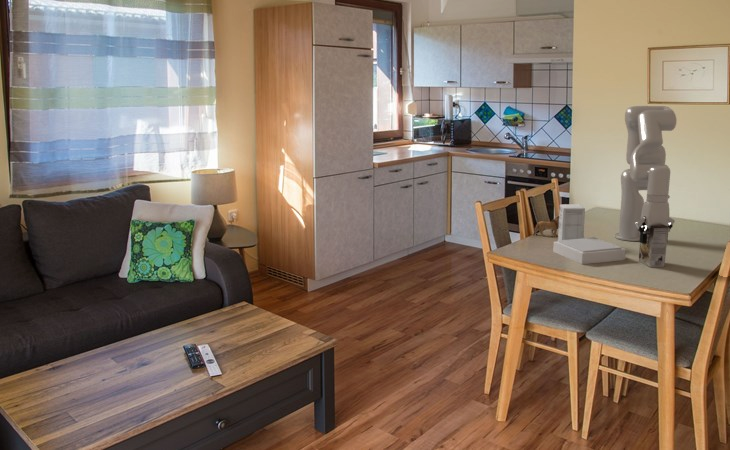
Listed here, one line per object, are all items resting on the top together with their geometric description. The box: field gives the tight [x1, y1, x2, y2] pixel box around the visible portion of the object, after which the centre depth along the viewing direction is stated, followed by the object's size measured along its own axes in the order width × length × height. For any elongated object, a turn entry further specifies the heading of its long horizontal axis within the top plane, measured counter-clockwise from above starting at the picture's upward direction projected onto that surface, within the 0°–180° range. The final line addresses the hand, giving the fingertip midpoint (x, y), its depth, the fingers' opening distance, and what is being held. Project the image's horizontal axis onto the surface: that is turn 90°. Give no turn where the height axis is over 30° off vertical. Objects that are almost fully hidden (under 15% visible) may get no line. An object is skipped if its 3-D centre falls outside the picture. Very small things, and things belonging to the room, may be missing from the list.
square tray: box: [552, 236, 626, 265], centre depth 271 cm, size 20×20×5 cm
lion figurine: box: [532, 215, 559, 237], centre depth 307 cm, size 15×5×9 cm, turn 103°
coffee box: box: [638, 225, 669, 268], centre depth 258 cm, size 9×6×16 cm
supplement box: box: [557, 203, 586, 241], centre depth 290 cm, size 10×9×17 cm
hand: (653, 242), depth 257 cm, fingers open, 9 cm apart
